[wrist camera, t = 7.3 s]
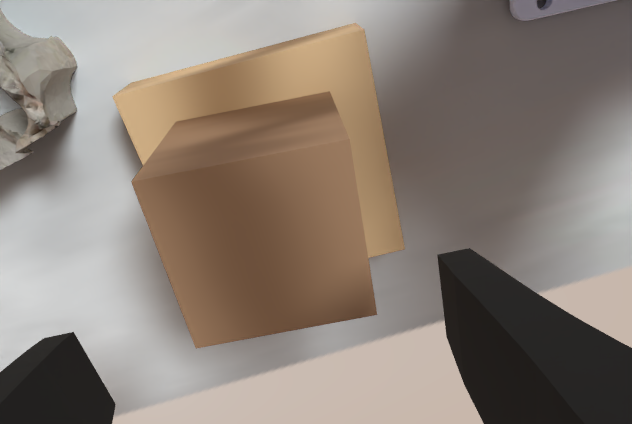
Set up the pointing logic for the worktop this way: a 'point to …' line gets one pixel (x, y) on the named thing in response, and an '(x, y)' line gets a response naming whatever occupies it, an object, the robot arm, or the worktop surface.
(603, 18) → the worktop surface
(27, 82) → the egg carton
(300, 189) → the walnut cube
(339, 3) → the worktop surface
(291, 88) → the board
